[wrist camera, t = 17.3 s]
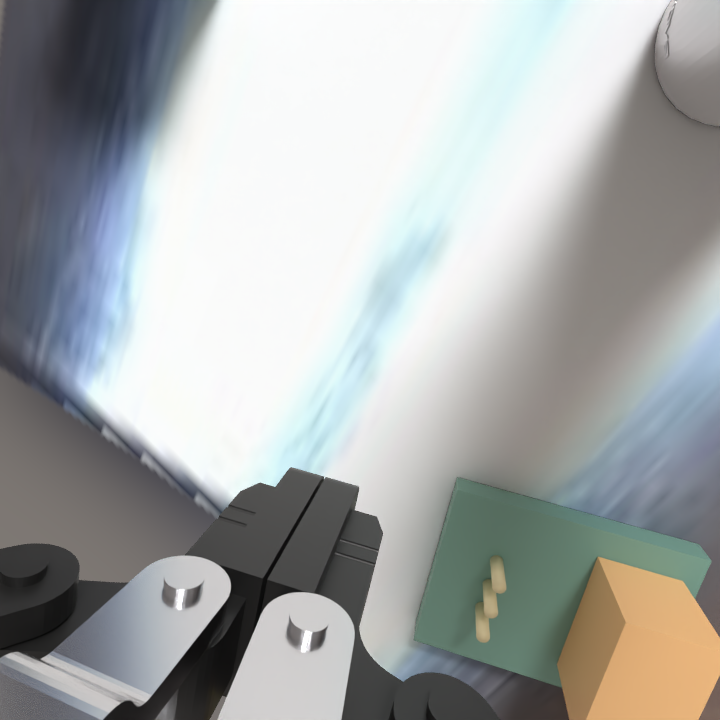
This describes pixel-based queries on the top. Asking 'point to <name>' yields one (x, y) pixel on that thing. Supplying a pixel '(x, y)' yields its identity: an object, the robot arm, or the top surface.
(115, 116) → the top surface
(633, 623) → the block
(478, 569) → the header board
